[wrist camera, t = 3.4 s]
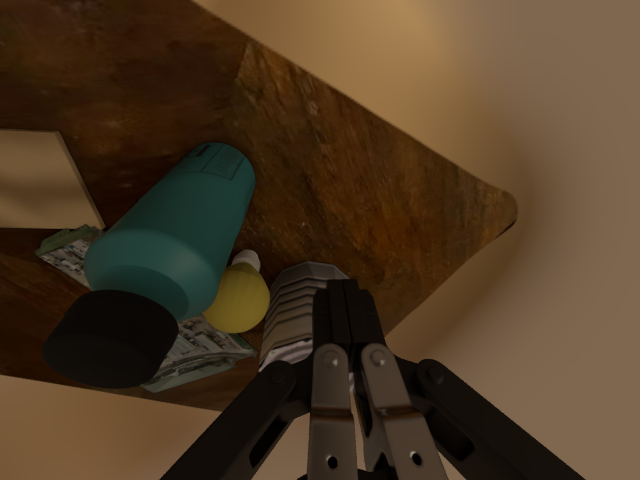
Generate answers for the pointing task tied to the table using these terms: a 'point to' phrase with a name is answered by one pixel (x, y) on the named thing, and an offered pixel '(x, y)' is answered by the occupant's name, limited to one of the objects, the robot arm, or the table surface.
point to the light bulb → (240, 296)
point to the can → (294, 312)
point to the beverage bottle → (154, 271)
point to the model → (194, 334)
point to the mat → (42, 183)
